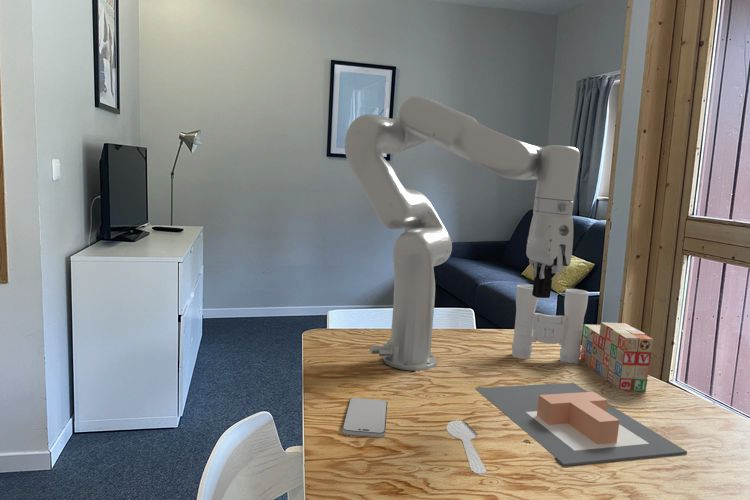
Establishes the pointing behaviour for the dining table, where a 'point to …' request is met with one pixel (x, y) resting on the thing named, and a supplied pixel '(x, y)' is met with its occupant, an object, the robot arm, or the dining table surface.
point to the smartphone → (365, 417)
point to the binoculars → (549, 324)
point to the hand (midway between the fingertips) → (540, 296)
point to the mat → (567, 439)
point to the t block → (580, 414)
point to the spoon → (467, 443)
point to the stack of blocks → (618, 354)
